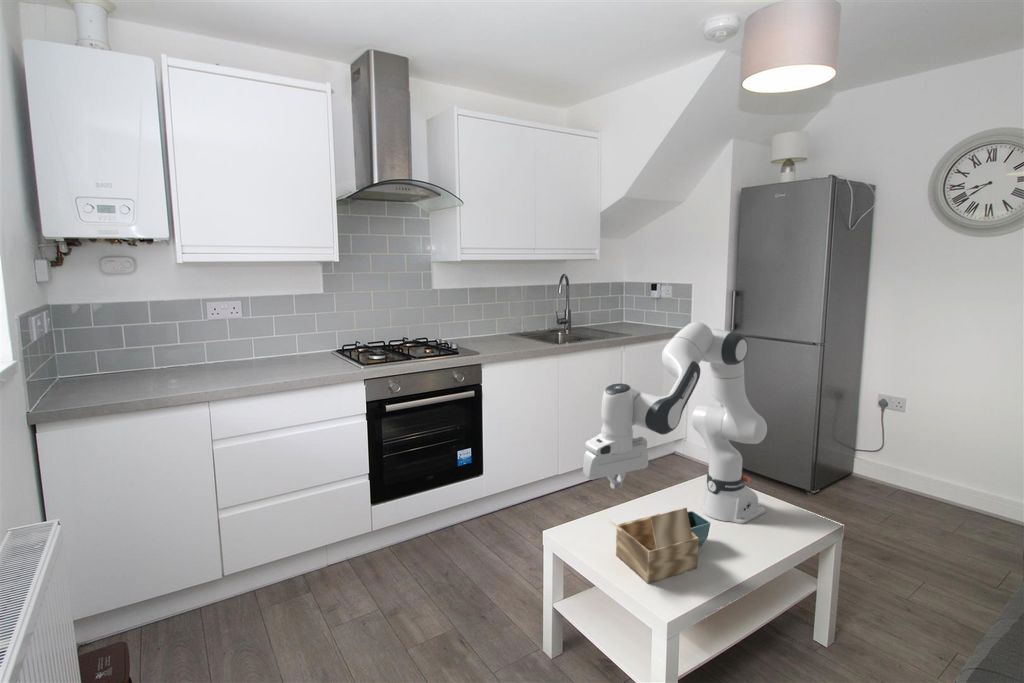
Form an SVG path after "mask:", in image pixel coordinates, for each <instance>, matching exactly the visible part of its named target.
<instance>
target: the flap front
mask: <svg viewBox="0 0 1024 683" xmlns="http://www.w3.org/2000/svg"><path fill="white" fill-rule="evenodd" d="M604 519H605V520H606V521H607V522H608V523H610V525H612V526H613V527H615V528H616V529H618V530H620V531H621V532H622V533H624V534H625V535H626V536H628V537H629V538H630V539H632V540H633V541H634V542H636V543H637V544H638V545H640V543H638V542H637V541H636V540H635V539H633V538H632V537H631V536H630V535H628V534H627V533H626V532H625V531H623V530H622V529H621V528H619V527H618V524H616V523H614V522H612V520H610V519H608V518H607V517H605V518H604Z"/></svg>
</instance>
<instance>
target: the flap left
mask: <svg viewBox="0 0 1024 683" xmlns="http://www.w3.org/2000/svg"><path fill="white" fill-rule="evenodd" d="M688 512H689V511H688V508H687V507H682V508H679V509H675V510H672V511H667V512H664V513H658V514H659V515H656V514H654V515H655V516H653V515H650V516H651V517H650V518H651V524H652V529H653V534H654V540H655V545H656V549H660V548H663V547H667V546H670V545H674V544H677V543H681V542H684V541H687V540H691V539H693V537H692V532H691V527H690V522H689V517H688Z"/></svg>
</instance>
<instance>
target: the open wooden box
mask: <svg viewBox="0 0 1024 683" xmlns="http://www.w3.org/2000/svg"><path fill="white" fill-rule="evenodd" d="M659 514H660V513H656V514H653V515H649V516H645V517H642V518H637V519H634V520H629V521H626V522H625V521H624V522H622V523H618V524H617V526H618V527H619V528H621V529H622V530H623V531H625V532H626V533H627V534H628V535H630V536H631V537H632V538H633V539H635V540H636V541H637V542H638V543H640V545H638V544H637V543H636V542H634V541H633V540H632V539H630V538H629V537H628V536H626V535H625V534H624V533H622V532H621V531H620V530H618V529H617V528H616V533H615V534H616V537H615V538H616V539H615V540H616V541H615V543H616V544H615V556H616V557H617V558H618V559H619V560H620V561H621V562H623V563H624V564H625V565H626V566H627V567H628V568H629V569H630V570H632V571H633V572H634V573H635V574H636V575H637V576H639V577H640V578H641V579H642V581H644V582H645V583H646V584H647V585H649V584H653V583H656V582H658V581H659V582H660V581H662V580H665V579H668V578H672V577H675V576H678V575H680V574H684V573H687V572H690V571H693V570H696V569H697V568H698V557H699V556H698V554H699V547H698V537H697V536H696V534H694V533H693V532H692V537H693V539H691V540H687V541H684V542H681V543H677V544H674V545H670V546H667V547H663V548H660V549H656V545H655V540H654V534H653V529H652V524H651V518H650V517H651V516H655V515H659Z"/></svg>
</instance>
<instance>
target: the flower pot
mask: <svg viewBox="0 0 1024 683" xmlns="http://www.w3.org/2000/svg"><path fill="white" fill-rule="evenodd" d="M687 512H688V517H689V522H690V527H691V532H693V533H694V534H696V536H697V537H698V548H700V547H702V546H703V545H704V544H705V543H706V541H707V539H708V536H709V533H710V527H711V522H710V521H709V520H707V519H706V518H704V517H703V516H701V515H699V514H698V513H696V512H695V511H693V510H690V511H687Z"/></svg>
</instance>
